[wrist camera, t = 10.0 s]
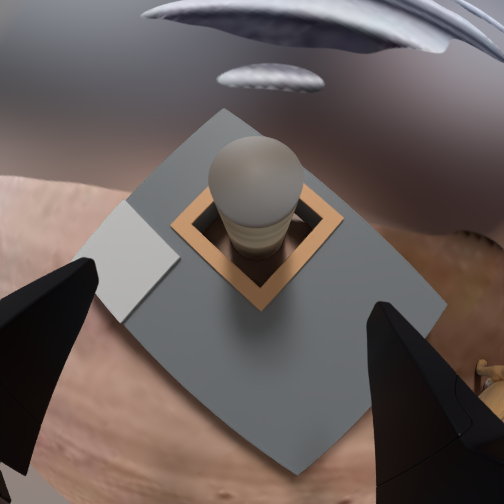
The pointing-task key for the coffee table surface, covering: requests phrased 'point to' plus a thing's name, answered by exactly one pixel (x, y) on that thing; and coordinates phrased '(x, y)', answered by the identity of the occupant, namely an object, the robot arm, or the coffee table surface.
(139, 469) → the coffee table surface
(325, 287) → the gray peg hole board
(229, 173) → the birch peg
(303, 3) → the coffee table surface
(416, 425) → the robot arm
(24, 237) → the coffee table surface
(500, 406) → the lion figurine
